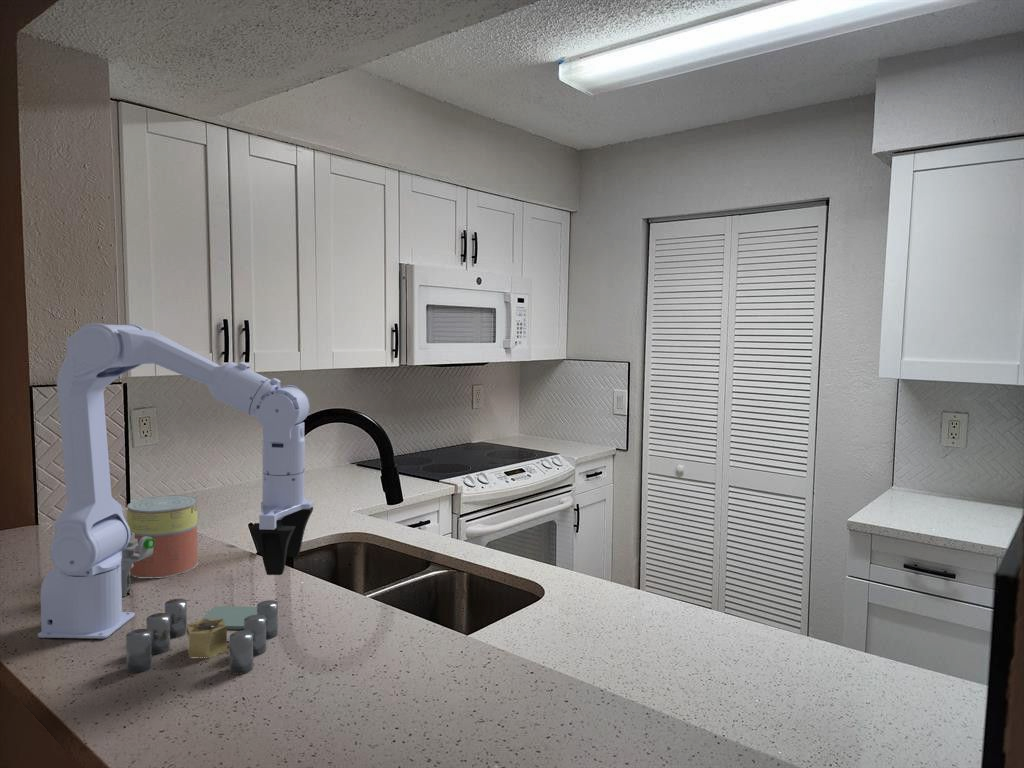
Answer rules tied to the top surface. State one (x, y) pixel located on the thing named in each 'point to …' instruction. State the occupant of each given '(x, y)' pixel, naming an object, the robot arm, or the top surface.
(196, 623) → the brass nut
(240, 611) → the green mat
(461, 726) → the top surface
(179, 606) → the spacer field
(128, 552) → the mechanical component
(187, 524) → the canned food
